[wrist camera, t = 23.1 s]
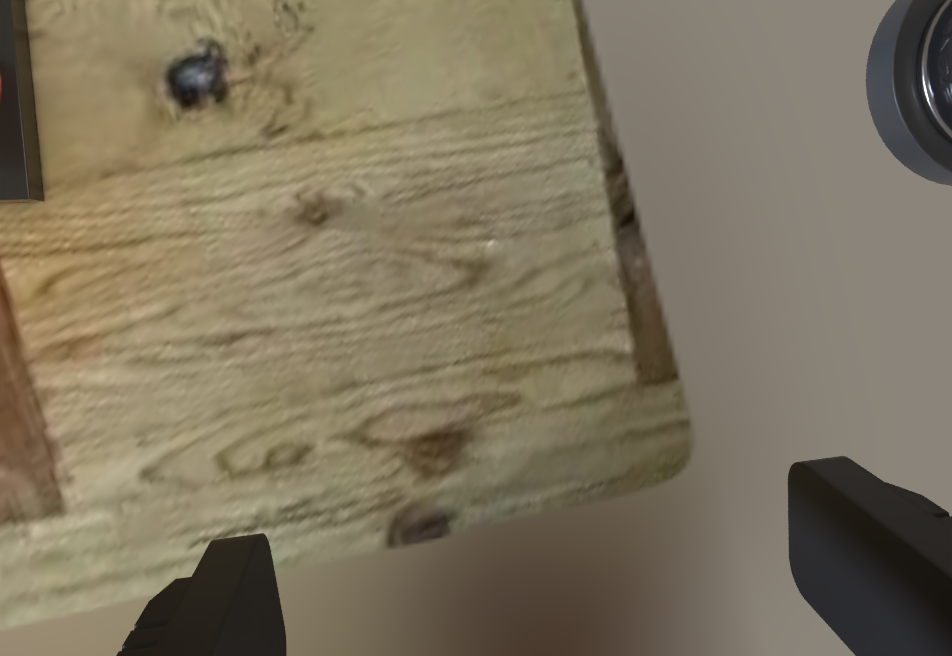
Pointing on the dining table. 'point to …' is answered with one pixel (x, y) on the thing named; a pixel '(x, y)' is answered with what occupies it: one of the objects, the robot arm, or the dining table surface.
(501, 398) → the dining table surface
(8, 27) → the stove
